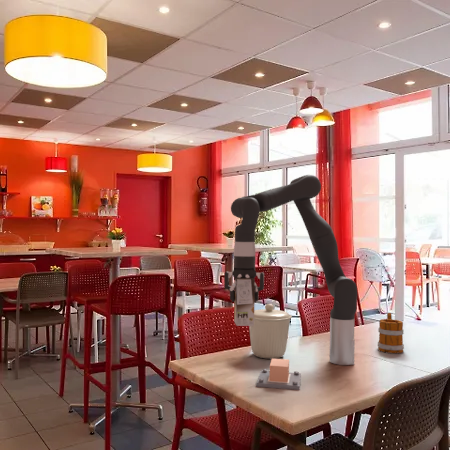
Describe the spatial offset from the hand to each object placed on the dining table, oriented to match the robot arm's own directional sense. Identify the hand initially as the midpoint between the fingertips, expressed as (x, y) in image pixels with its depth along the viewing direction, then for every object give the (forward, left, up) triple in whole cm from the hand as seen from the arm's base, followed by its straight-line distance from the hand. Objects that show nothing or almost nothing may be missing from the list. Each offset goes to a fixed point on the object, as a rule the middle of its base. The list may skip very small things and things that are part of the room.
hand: (244, 301), depth 170 cm
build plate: (-13, +3, -26) cm, 29 cm away
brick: (-13, +3, -24) cm, 28 cm away
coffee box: (0, 0, -8) cm, 8 cm away
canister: (-6, -29, -26) cm, 40 cm away
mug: (-57, -54, -26) cm, 83 cm away
